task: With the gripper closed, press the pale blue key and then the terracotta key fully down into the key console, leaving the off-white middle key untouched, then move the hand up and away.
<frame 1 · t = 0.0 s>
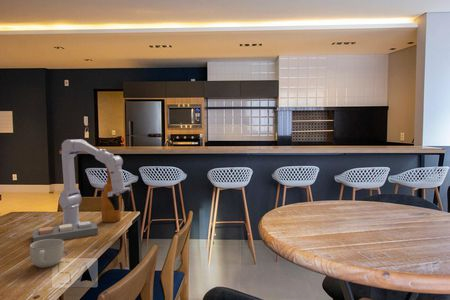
hand: (122, 208, 155), 11 cm above the table, tool pointing down, fingers open, 7 cm apart
key console: (66, 235, 148), on the table
teacup: (46, 266, 115), on the table
pale blue key: (84, 225, 152), point 3 cm above the table, slide at 0.0 cm
wine bottle: (111, 220, 171), on the table
off-white key: (65, 227, 147), point 3 cm above the table, slide at 0.0 cm
terracotta key: (45, 230, 143), point 4 cm above the table, slide at 0.0 cm
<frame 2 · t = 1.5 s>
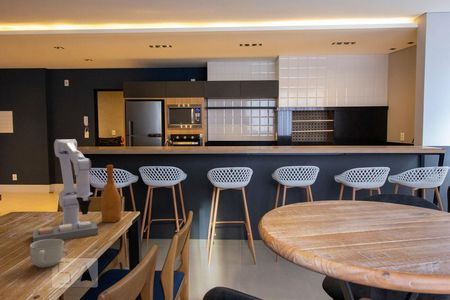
hand: (84, 212, 151), 9 cm above the table, tool pointing down, fingers open, 5 cm apart
nothing on the table moved.
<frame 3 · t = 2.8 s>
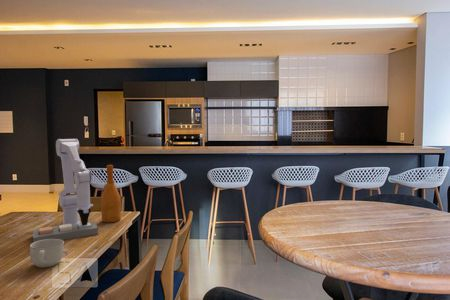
hand: (84, 224, 151), 4 cm above the table, tool pointing down, fingers closed, pressing on pale blue key
pale blue key: (84, 226, 152), point 3 cm above the table, slide at 0.7 cm, touching gripper
everything else where it was.
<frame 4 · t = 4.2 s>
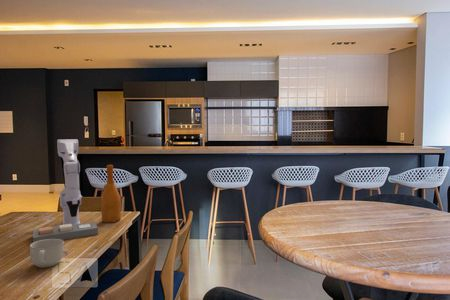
hand: (73, 216, 149), 8 cm above the table, tool pointing down, fingers closed
pale blue key: (84, 228, 152), point 2 cm above the table, slide at 1.4 cm
everything else where it was.
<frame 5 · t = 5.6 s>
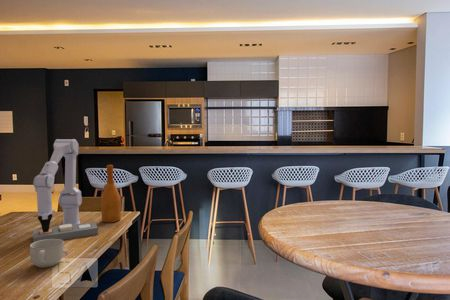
hand: (45, 231, 143), 3 cm above the table, tool pointing down, fingers closed, pressing on terracotta key
terracotta key: (46, 233, 143), point 2 cm above the table, slide at 1.2 cm, touching gripper
everything else where it was.
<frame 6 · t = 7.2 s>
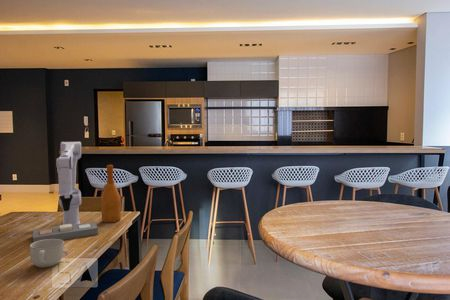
hand: (66, 210, 151), 10 cm above the table, tool pointing down, fingers closed
terracotta key: (46, 233, 143), point 2 cm above the table, slide at 1.4 cm
everything else where it was.
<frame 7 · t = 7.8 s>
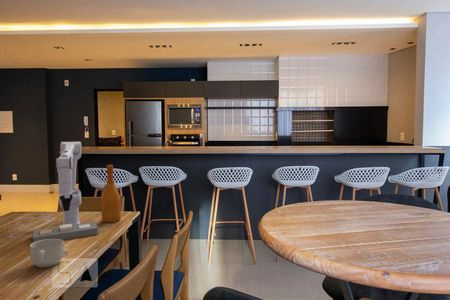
hand: (66, 210, 151), 10 cm above the table, tool pointing down, fingers closed
nothing on the table moved.
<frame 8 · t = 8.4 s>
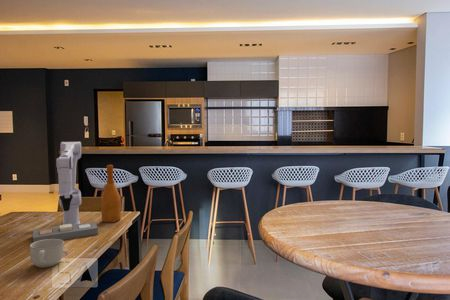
hand: (66, 210, 151), 10 cm above the table, tool pointing down, fingers closed
nothing on the table moved.
at the end: pale blue key slide at 1.4 cm; terracotta key slide at 1.4 cm; off-white key slide at 0.0 cm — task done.
